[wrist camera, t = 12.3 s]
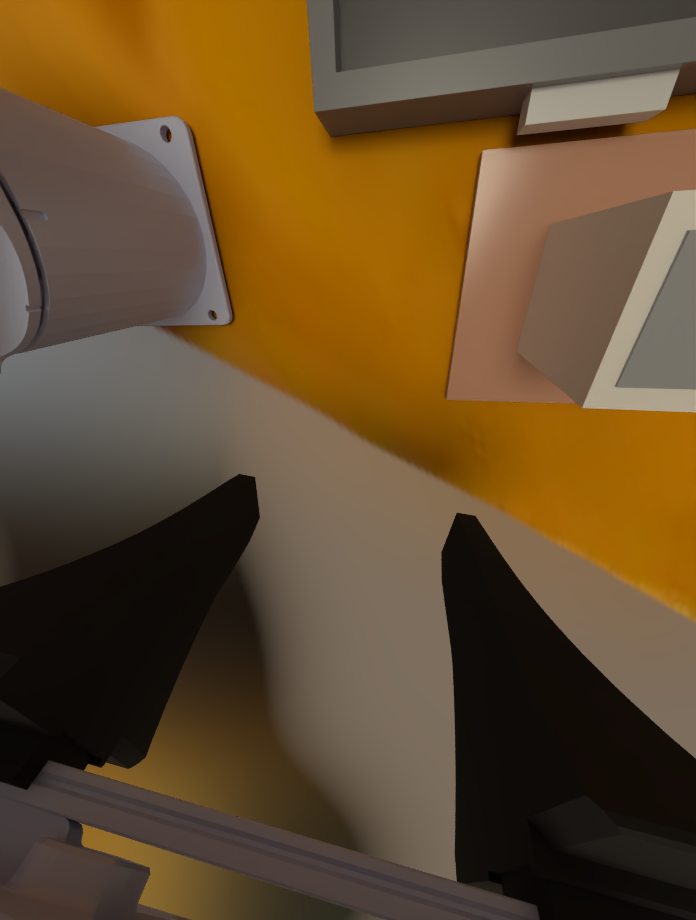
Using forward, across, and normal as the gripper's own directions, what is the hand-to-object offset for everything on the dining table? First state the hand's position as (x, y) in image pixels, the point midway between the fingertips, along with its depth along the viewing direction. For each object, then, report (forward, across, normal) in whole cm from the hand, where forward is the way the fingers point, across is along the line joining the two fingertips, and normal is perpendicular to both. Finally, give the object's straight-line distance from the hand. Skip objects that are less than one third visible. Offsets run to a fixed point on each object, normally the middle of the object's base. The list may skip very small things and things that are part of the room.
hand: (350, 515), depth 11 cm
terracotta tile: (+9, -8, -7) cm, 14 cm away
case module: (+9, -8, -7) cm, 14 cm away
